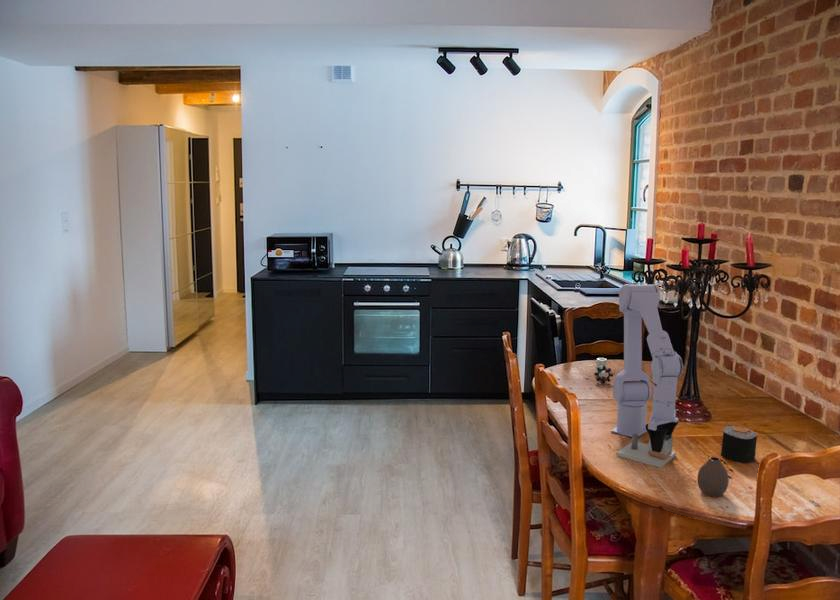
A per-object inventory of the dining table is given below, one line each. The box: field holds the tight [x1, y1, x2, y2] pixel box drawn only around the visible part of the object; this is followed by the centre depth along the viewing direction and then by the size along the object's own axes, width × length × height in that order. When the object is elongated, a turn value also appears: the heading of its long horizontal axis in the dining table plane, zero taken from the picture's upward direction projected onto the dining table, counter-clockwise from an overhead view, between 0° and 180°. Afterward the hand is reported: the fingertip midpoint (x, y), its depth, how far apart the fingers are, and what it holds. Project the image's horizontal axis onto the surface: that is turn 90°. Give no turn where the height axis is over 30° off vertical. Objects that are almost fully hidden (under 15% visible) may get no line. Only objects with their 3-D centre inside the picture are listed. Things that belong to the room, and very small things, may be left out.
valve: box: [593, 357, 614, 384], centre depth 266 cm, size 7×7×12 cm
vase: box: [696, 456, 730, 498], centre depth 172 cm, size 7×7×9 cm
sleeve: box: [648, 435, 674, 459], centre depth 192 cm, size 5×5×5 cm
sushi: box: [720, 425, 758, 464], centre depth 194 cm, size 8×8×8 cm
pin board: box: [616, 434, 677, 468], centre depth 194 cm, size 11×12×5 cm
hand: (659, 448), depth 192 cm, fingers closed on sleeve, 5 cm apart
